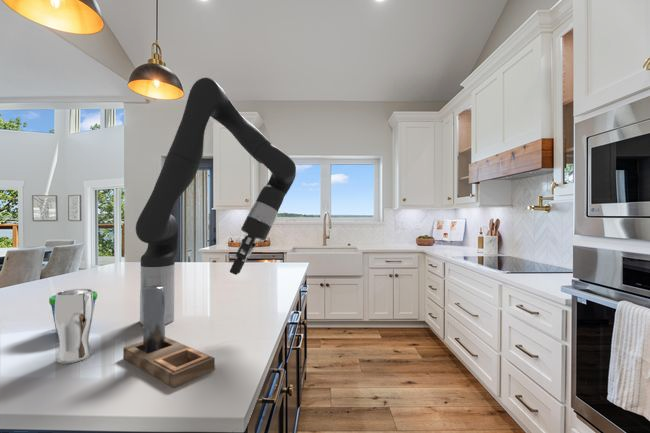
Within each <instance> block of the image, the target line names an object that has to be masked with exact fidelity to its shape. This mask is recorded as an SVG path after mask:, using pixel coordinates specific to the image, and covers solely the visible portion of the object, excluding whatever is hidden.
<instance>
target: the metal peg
mask: <svg viewBox="0 0 650 433" xmlns="http://www.w3.org/2000/svg"><path fill="white" fill-rule="evenodd" d="M142 326H143V327H142V328H143V331H142V333H143V335H142V337H143V340H142V342H143V352H145V353H147V354H148V353H151V352H154V351H157V350H160V349H163V348H165V337H166V324H165V286H163V285H154V286H148V287H145V288H144V314H143V325H142Z"/></svg>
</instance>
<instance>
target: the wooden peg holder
mask: <svg viewBox="0 0 650 433" xmlns="http://www.w3.org/2000/svg"><path fill="white" fill-rule="evenodd" d="M122 351H123V355H122V356H123V359H124V360H125V361H128V362H129V363H131V364H132V365H134V366H136V367H137V368H140V369H141V370H142V371H144V372H146V373H148V374H149V375H151V376H153V377H155V378H156V379H158V380H160V381H161V382H162V383H164V384H167V385H168V386H170V387H171V388H176V387H179V386H182V385H184V384H186V383H188V382H190V381H193V380H194V379H197V378H199V377H201V376H204V375H206V374H208V373H211V372H212V371H214V370H216V369H215V368H216V366H215V362H216V361H215V359H216V358H215V357H213V356H211V355H209V354H206V353H205V352H202V351H199V350H197V349H195V348H193V347H190V346H188V345H186V344H183V343H181V342H179V341H177V340H174V339H171V338H170V337H167V336H165V348H163V349H160V350H157V351H154V352H151V353H148V354H147V353H145V352H143V341H140V342H136V343H133V344H130V345H127V346H123V350H122ZM210 371H211V372H210Z"/></svg>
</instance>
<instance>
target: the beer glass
mask: <svg viewBox="0 0 650 433" xmlns="http://www.w3.org/2000/svg"><path fill="white" fill-rule="evenodd" d="M92 291H93V289H92V288H76V289H75V288H73V289H67V290H61V291H58V292H57V293H56V294H55V295H56V301H55V322H54V325H55V324H56V328H55V330H56V329H57V332H56V333H57V337H58V343H59V344H58V345H59V346H58V348H59V349H58V353H57V358H56V362H57V363H58V364H61V365H62V364H63V365H67V364H73V363H79V362H81V360H82V361H84V360H86V359H88V358H90V357H91V353H92V352H91V351H92V350H91V347H90V342H89V340H90V333H91V328H92V324H93V323H92V322H93V319H94V318H93V316H94V312H93V294H92ZM78 361H79V362H78Z"/></svg>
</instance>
